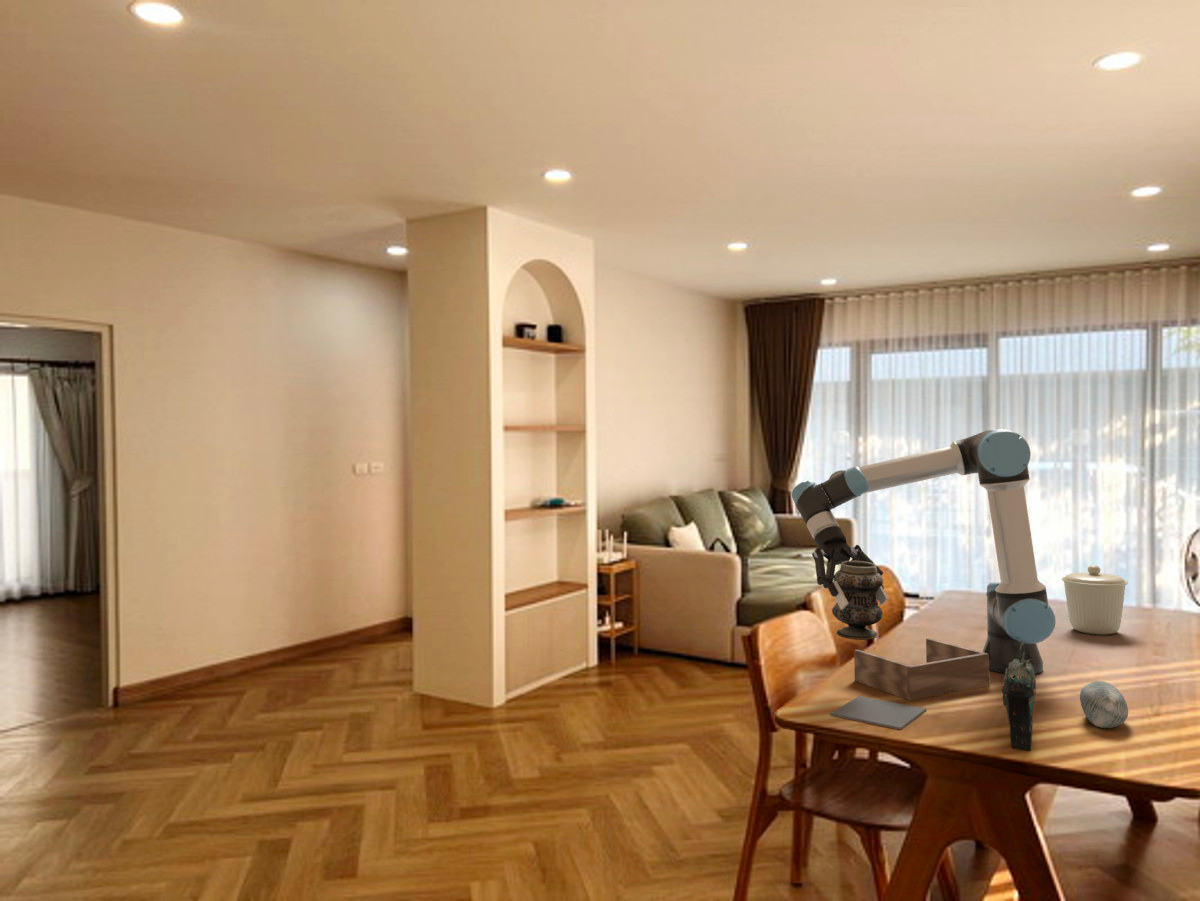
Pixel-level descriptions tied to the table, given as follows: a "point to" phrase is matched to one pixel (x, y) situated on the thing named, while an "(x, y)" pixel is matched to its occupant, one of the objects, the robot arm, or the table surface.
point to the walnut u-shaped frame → (925, 671)
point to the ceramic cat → (1020, 700)
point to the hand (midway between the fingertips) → (865, 604)
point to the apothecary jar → (858, 599)
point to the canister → (1095, 601)
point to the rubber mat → (879, 712)
